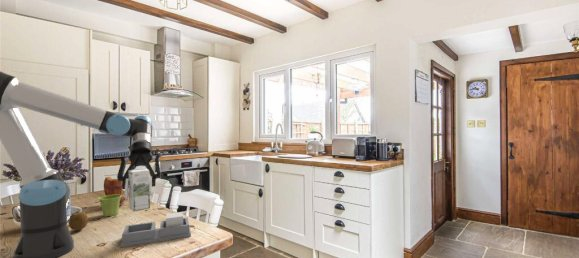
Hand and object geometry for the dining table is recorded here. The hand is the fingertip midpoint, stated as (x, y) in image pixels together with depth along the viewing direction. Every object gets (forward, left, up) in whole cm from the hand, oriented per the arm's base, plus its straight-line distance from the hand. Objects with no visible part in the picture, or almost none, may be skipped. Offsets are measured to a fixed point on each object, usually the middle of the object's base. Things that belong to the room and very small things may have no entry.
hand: (138, 194), depth 103 cm
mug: (-18, +62, -17) cm, 67 cm away
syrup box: (0, +4, -6) cm, 7 cm away
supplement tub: (-36, +41, -17) cm, 58 cm away
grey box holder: (+6, +3, -17) cm, 18 cm away
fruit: (-24, +24, -17) cm, 39 cm away
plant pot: (-16, +43, -17) cm, 50 cm away
